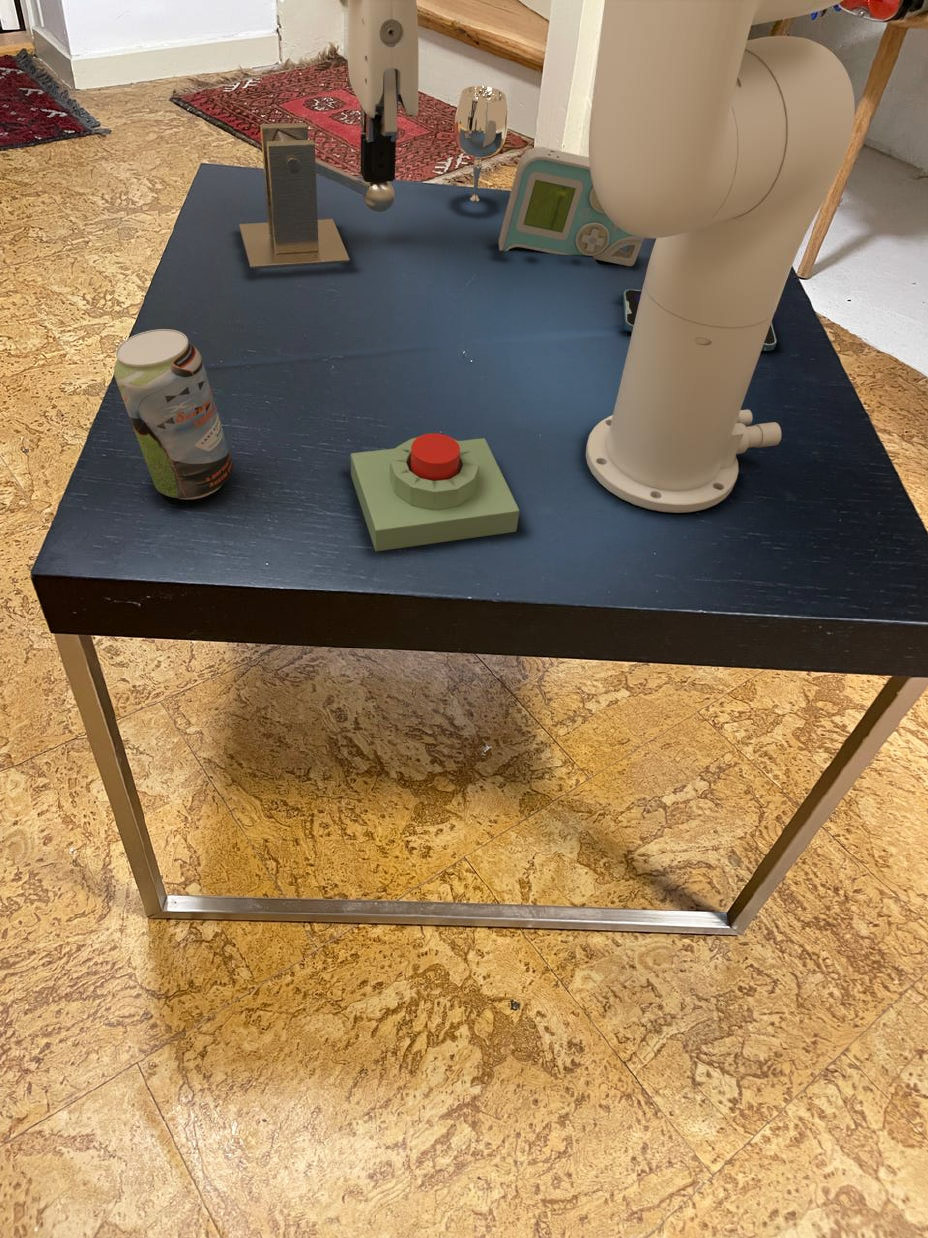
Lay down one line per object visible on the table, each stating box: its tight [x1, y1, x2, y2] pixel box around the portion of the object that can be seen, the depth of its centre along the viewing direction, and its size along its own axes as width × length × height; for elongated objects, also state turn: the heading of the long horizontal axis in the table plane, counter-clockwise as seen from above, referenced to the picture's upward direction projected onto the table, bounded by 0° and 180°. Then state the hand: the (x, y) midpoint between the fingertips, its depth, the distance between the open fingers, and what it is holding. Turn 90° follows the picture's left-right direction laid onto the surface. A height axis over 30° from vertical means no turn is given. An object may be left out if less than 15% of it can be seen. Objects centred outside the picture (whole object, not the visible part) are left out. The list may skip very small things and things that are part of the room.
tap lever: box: [274, 131, 396, 213], centre depth 94 cm, size 13×3×3 cm, turn 106°
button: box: [411, 432, 460, 481], centre depth 71 cm, size 4×4×2 cm
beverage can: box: [113, 328, 234, 500], centre depth 69 cm, size 6×7×12 cm
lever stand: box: [238, 122, 351, 270], centre depth 94 cm, size 10×9×12 cm
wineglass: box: [453, 85, 509, 202], centre depth 105 cm, size 6×6×12 cm
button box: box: [350, 436, 520, 552], centre depth 72 cm, size 11×9×4 cm
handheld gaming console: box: [498, 146, 646, 267], centre depth 99 cm, size 11×3×15 cm
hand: (377, 177), depth 96 cm, fingers closed
